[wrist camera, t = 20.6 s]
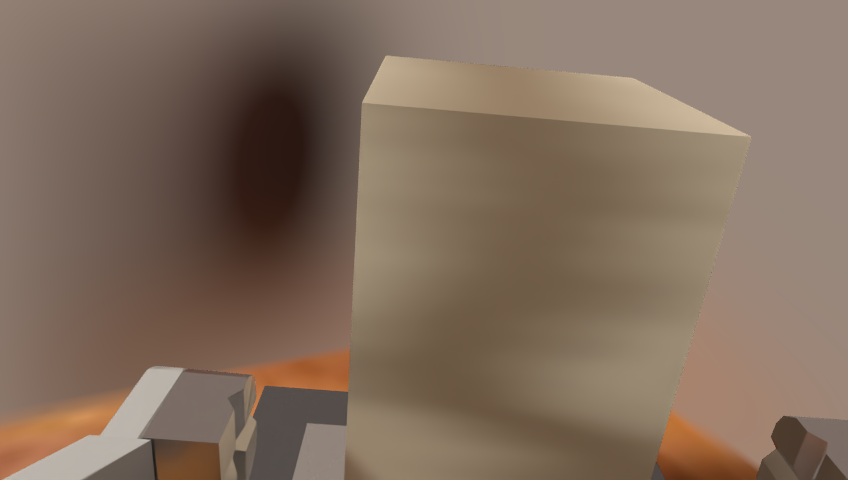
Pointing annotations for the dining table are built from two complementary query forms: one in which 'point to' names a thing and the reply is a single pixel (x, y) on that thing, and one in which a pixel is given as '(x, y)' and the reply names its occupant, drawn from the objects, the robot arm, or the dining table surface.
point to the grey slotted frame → (306, 435)
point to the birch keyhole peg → (526, 270)
